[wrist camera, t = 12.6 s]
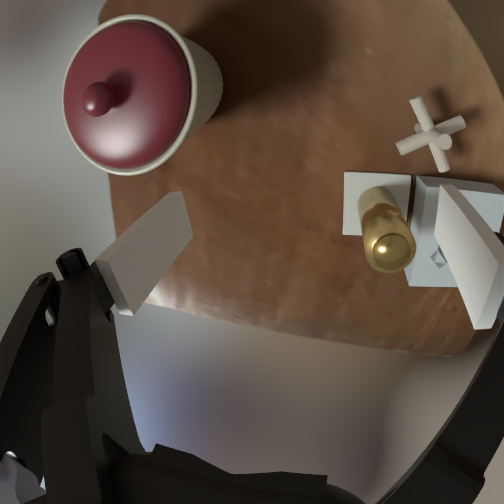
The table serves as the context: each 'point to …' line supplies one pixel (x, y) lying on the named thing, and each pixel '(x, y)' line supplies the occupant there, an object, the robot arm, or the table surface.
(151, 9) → the table surface
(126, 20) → the canister
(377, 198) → the gold metal cylinder
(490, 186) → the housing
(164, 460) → the robot arm
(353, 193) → the mat
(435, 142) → the pipe connector
